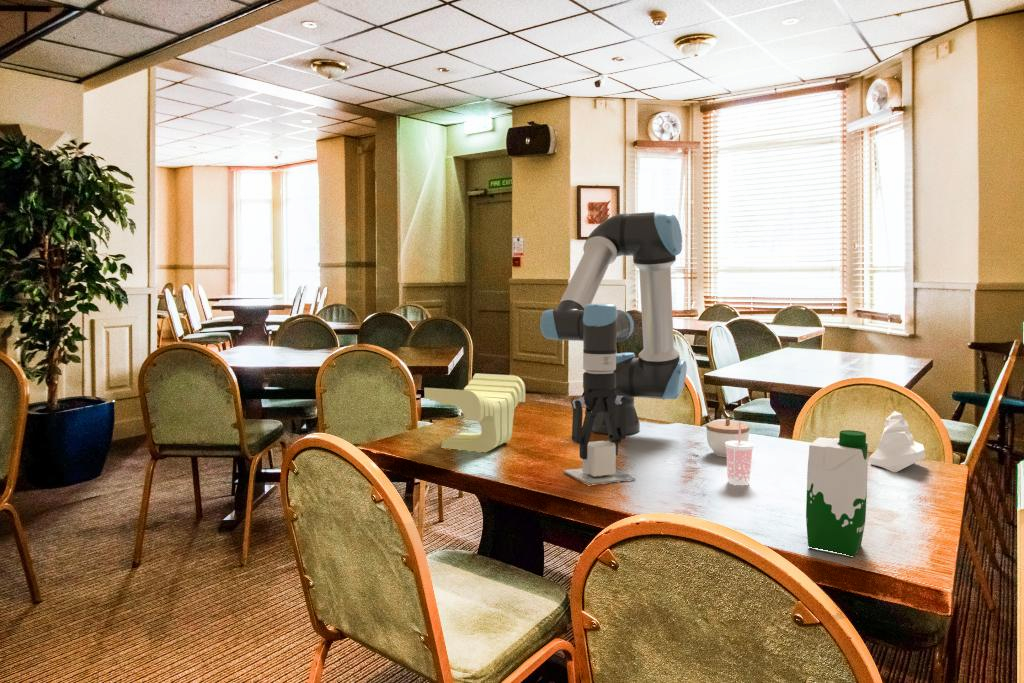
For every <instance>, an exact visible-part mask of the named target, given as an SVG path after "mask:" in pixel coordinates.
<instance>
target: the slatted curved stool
mask: <svg viewBox="0 0 1024 683" xmlns="http://www.w3.org/2000/svg"><path fill="white" fill-rule="evenodd" d="M467 383H468V384H467V385H465V387H463V389H453V388H437V387H436V388H435V387H423V388H424V391H423V392H424V399H427V400H429V401H433V402H435V403H440V405H447V406H455V407H458V408H459V409H460V410H461V412H462V413H463V414H462V415H463V418H464V420H465V421H475V422H476V421H477V422H478V423H479V425H480V429H481V433H472V432H471V433H470V432H469V433H467V432H460V433H457V434H456V435H453V436H450V437H449V438H446V439H444V440H442V443H441V445H440V446H441V447H440V449H441V448H451V449H458V450H457V451H461V450H467V451H466V452H471V451H476V452H475V453H481V452H484V453H487V452H489V451H491V450H494V449H495V448H497V447H499V446H501V445H503V444H504V443H506V442H508V441H509V440H510V439H511V438H512V435H513V424H514V417H515V416H514V415H515V409H516V408H517V406H518V404H519V403H522V402H523V403H526V384H525V382H524V381H523V380H522V378H520V377H519V376H517V375H515V374H514V375H513V374H493V373H479V372H478V373H474V375H473V376H472V379H470V380H469V382H467ZM451 449H450V450H451Z"/></svg>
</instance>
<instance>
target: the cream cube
mask: <svg viewBox="0 0 1024 683" xmlns="http://www.w3.org/2000/svg"><path fill="white" fill-rule="evenodd" d="M606 441H607V440H606ZM606 441H605V440H597V441H589V442H588V445H591V474H590V475H592V476H594V477H595V476H603V475H611V474H616V469H617V468H616V464H617V463H616V462H617V461H616V445H613V444H611V443H608V442H606ZM581 460H582V461H581V462H582V463H581V464H582V467H581V468H582V471H583V459H581Z"/></svg>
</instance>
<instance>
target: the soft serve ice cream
mask: <svg viewBox="0 0 1024 683" xmlns="http://www.w3.org/2000/svg"><path fill="white" fill-rule="evenodd" d="M884 426H885V427H884V428H883V432H882V435H881V438H880V439H879V442H878V446H877V448H876V449H875V451H874V452H872V454H870V456H868V460H869V462H870V465H873V466H877V467H880V468H883V469H885V470H888V471H890V472H892V473H897V472H899V471H901V470H903V469H905V468H907V467H909V466H911V465H913V464H915V463H917V462H919V461H921V460H923V459H925V458H927V455H926V451H925V447H924V444H923V443H920V442H917V441H915V440H914V436H913V434H912V433H911V431H910V426H909V423H908V421H907V419H905V418H904V417H903V414H902V413H901V412H898V411H896V410H894V411H893V412H891V414H890V415H888V417H886V419H885V422H884Z"/></svg>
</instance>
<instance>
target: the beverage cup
mask: <svg viewBox="0 0 1024 683" xmlns="http://www.w3.org/2000/svg"><path fill="white" fill-rule="evenodd" d="M738 423H739V435H738V441H727V442H725V447H726V453H727V457H726V472H727V473H726V477H727V483H728V482H729V483H732V484H736V485H746V484H749V485H750V479H751V478H750V477H751V468H752V459H753V458H752V457H753V450H754V448H755V444H754V443H753V442H751V441H748V442H746V441H741V423H742V421H740V420H739V421H738ZM729 483H728V484H729Z"/></svg>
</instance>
